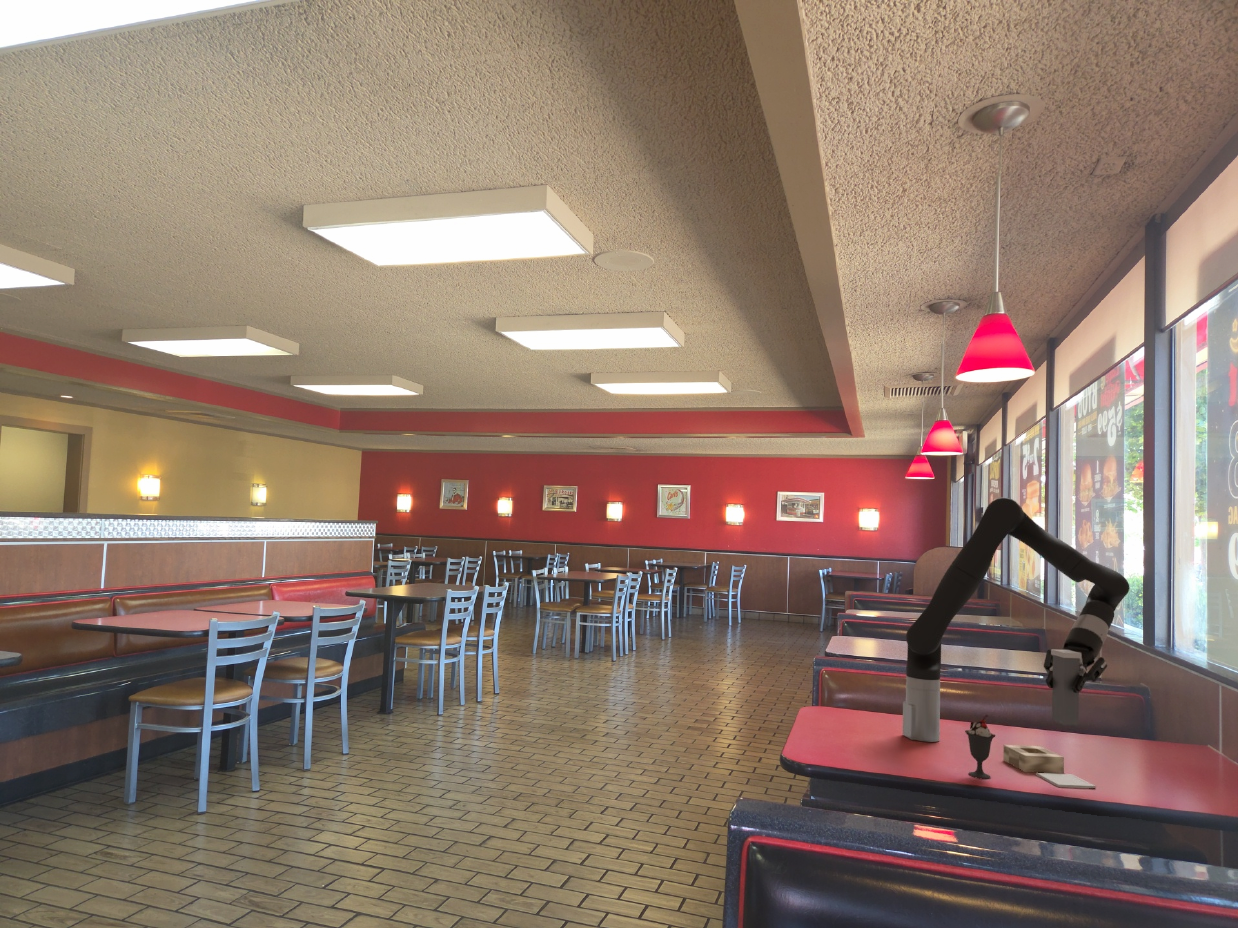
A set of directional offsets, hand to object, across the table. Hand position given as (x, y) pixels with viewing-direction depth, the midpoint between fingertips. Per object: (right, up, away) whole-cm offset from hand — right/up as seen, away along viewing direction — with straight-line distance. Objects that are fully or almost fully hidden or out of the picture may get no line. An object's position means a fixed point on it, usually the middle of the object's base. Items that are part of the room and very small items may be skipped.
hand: (1061, 688), depth 187 cm
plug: (+1, -9, +1) cm, 9 cm away
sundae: (-20, -22, 0) cm, 29 cm away
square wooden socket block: (-1, -23, +11) cm, 26 cm away
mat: (0, -22, -1) cm, 22 cm away
